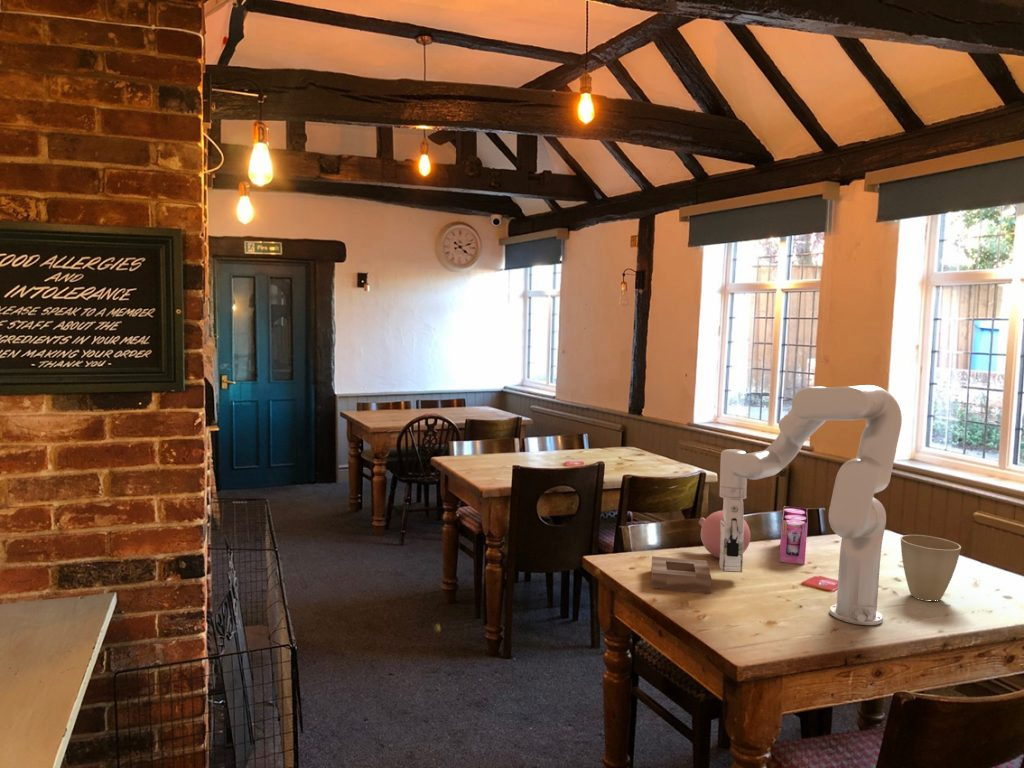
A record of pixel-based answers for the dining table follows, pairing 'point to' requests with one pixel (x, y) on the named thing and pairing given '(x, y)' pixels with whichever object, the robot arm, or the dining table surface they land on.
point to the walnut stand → (681, 574)
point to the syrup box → (726, 561)
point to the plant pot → (928, 565)
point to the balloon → (718, 533)
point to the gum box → (793, 535)
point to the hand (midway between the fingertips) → (731, 552)
